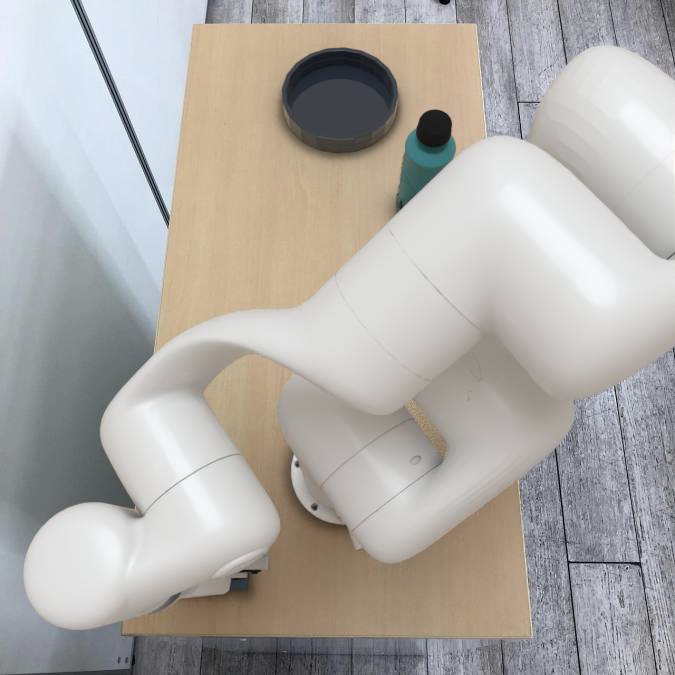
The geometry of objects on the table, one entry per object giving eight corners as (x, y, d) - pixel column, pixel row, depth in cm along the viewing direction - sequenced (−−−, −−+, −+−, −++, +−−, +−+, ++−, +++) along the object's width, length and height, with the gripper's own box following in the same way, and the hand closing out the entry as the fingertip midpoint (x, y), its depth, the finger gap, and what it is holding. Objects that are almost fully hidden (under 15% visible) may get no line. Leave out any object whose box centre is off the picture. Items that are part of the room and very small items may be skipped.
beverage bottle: (439, 196, 92) (465, 99, 73) (437, 236, 90) (463, 146, 71) (395, 192, 92) (409, 95, 74) (391, 232, 90) (406, 141, 71)
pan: (414, 133, 96) (417, 117, 93) (308, 169, 94) (307, 154, 90) (369, 51, 102) (370, 34, 98) (268, 84, 99) (265, 67, 96)
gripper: (25, 616, 48) (109, 602, 64) (251, 615, 47) (278, 601, 64) (40, 514, 50) (117, 525, 67) (255, 512, 50) (280, 524, 66)
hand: (196, 562), depth 65 cm, fingers open, 9 cm apart
